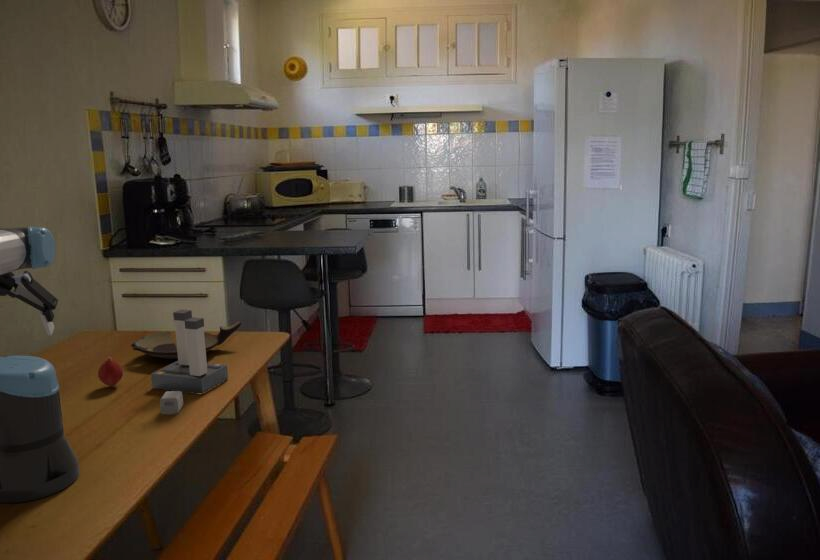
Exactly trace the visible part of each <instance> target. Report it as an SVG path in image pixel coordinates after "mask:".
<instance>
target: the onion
mask: <svg viewBox="0 0 820 560" xmlns="http://www.w3.org/2000/svg"><path fill="white" fill-rule="evenodd" d="M123 370H124V369H123V367H122V365H120V363H119V362H118V361H115V360H113V359H112V357H111V356H109V357H107V359H106V360H105V361H104V362H103V363H102V364H101V365H100V367H99V369H98V373H97V377H98V380H99V381H100V382H101V383H102V384H104V385H106V386H108V387H110V388H114V387H115V386H116V385H117V384H118V383H119V382H120V381H121V380H122V378H123V375H124V371H123Z"/></svg>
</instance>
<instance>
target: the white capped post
mask: <svg viewBox="0 0 820 560" xmlns="http://www.w3.org/2000/svg"><path fill="white" fill-rule="evenodd" d="M172 315H173V316H172V317H173V321H174V329H175V330H174V331H175V341H176V348H177V353H178V359H177V361H178V364H180V365H189V359H188V347H187V336H186V329H185V320H187V319H190V318H192V317H193V314H192V310H191V309H179V310H178V309H177V310H175V311H173V312H172Z"/></svg>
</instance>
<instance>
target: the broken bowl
mask: <svg viewBox="0 0 820 560" xmlns="http://www.w3.org/2000/svg"><path fill="white" fill-rule="evenodd" d="M241 326H242V322H241V321H237V322H236V323H234V324H233V325H230V326H222V325H221V326H219V332H218V334H212V333H209V332H206V331H204V337H205V349H206V353H207V352H209V351H210V350H212V349H213V348H215V347H218V346H220V345H222V344H223V343H225V341H226V340H227V339H228V338H229V337H230V336H232V335H233V334H234V333H235V332H236V331H237V330H238V329H239V328H240V327H241ZM130 346H131V347H132V350H133V351H137V352H141V353H143V354H146V355H148V356H152V357H155V358H161V359H166V360H178V353H177V344H176V343H175V341H174V338H173V337H172V333H171V332H169V331H163V332H156V333H151V334H148V335H145V336H143V337H141V338H139V339H137V340H135V342H133V343H130Z"/></svg>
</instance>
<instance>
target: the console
mask: <svg viewBox="0 0 820 560" xmlns="http://www.w3.org/2000/svg"><path fill="white" fill-rule="evenodd" d="M228 373H229V372H228V365H227V364H221V363H212V362H211V363H210V362H208V363H207V373H205V374H203V375H201V376H195V375H190V370H189V365H180V364H178V360H176V361H174V362H172V363H170V364H168V365H166V366H164V367H162V368H159V369H158V370H155V371H154V372H151V373H150V377H151V378H150V379H151V385H152V386H151V387H152V388H153V390H154V389H155V390H160V389H164V390H163V391H168V390H173V391H183V392H182V393H184V392H193V393H202V394H203V393H204V392H206V391H208V390H209V389H211V388H213V387H214V386H217V385H218V384H220V383H221V382H223V381H225V380H227V379H228V380H229V374H228ZM228 380H227V381H228ZM225 382H226V381H225ZM223 383H224V382H223ZM220 385H221V384H220ZM218 386H219V385H218ZM218 386H217V387H218ZM213 389H214V388H213ZM208 392H209V391H208ZM206 393H207V392H206ZM203 395H204V394H203Z"/></svg>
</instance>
